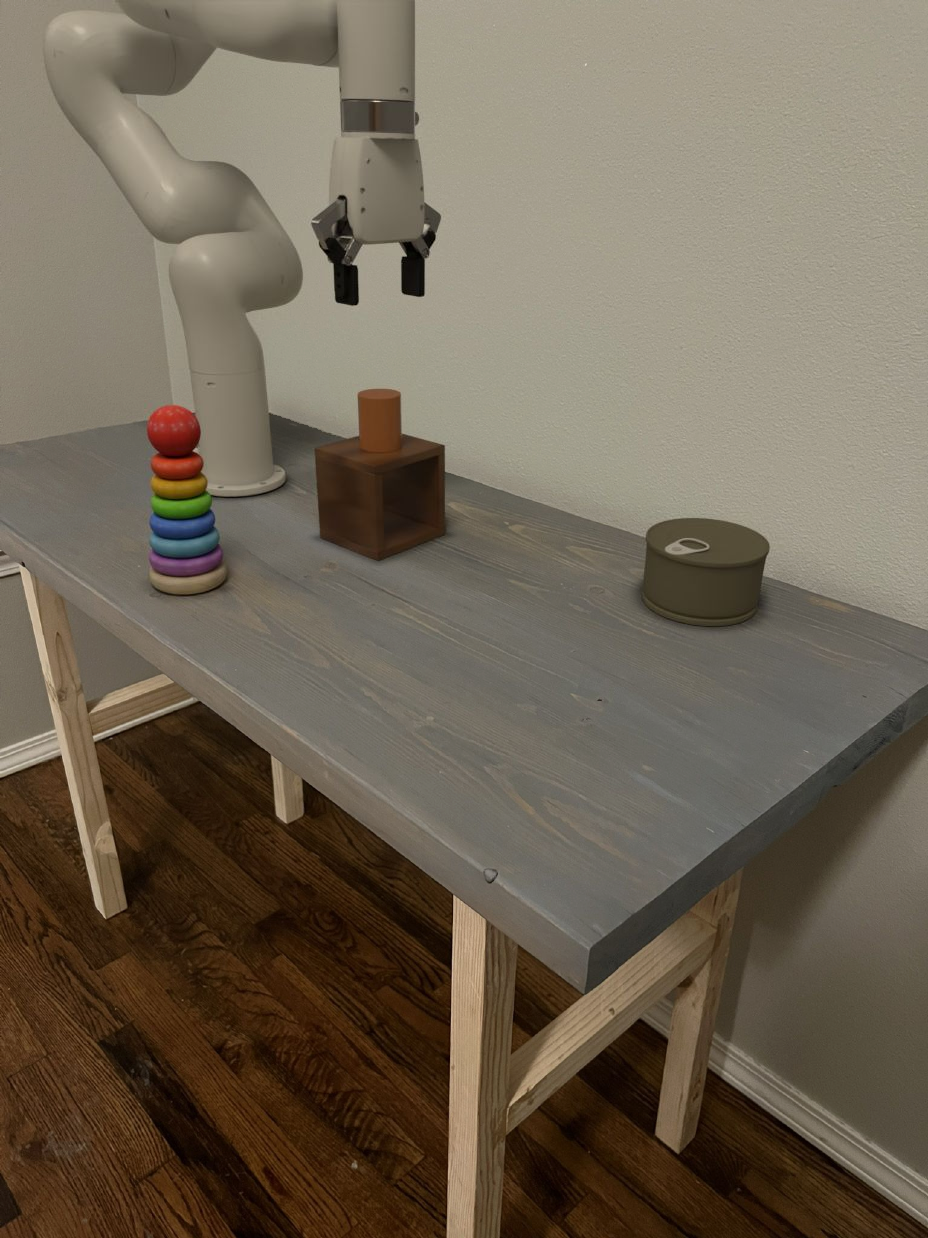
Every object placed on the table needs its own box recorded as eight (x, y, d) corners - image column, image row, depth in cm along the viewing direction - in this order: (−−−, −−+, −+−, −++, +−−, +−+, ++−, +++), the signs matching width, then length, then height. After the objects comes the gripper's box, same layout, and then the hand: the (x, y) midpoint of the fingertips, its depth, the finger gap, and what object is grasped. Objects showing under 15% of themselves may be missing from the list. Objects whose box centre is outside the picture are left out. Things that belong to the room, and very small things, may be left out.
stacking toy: (162, 604, 93) (135, 420, 85) (141, 576, 99) (113, 401, 91) (238, 587, 97) (219, 409, 89) (213, 561, 103) (193, 392, 95)
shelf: (319, 537, 110) (314, 447, 105) (387, 514, 117) (384, 428, 112) (378, 561, 104) (374, 466, 99) (445, 534, 111) (445, 444, 106)
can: (783, 607, 94) (795, 544, 91) (705, 639, 88) (714, 573, 85) (692, 568, 103) (700, 509, 100) (615, 594, 96) (621, 533, 93)
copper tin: (350, 446, 105) (348, 393, 102) (381, 437, 108) (380, 386, 105) (380, 455, 102) (378, 400, 99) (410, 446, 105) (409, 393, 103)
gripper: (413, 124, 101) (414, 288, 109) (285, 119, 90) (296, 302, 98) (463, 125, 97) (460, 296, 105) (335, 120, 86) (342, 312, 94)
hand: (380, 299), depth 101 cm, fingers open, 9 cm apart
